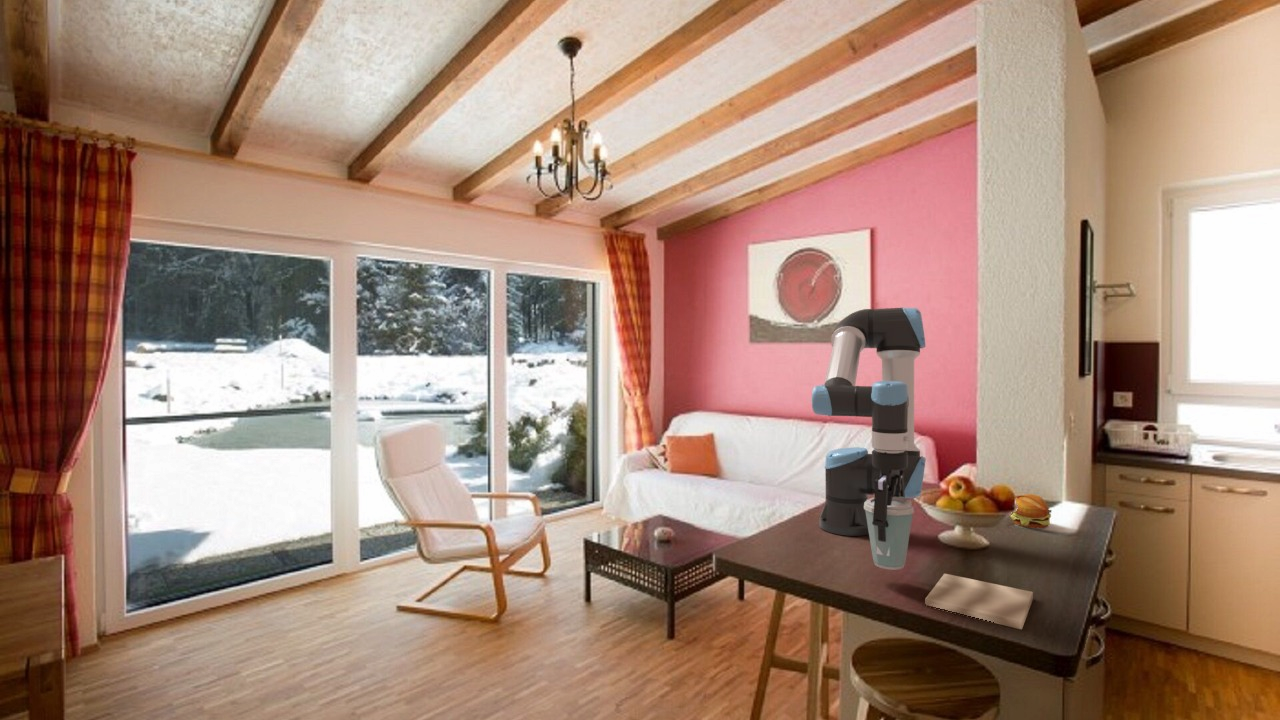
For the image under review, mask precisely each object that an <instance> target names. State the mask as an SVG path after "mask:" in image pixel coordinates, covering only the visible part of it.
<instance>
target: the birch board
mask: <svg viewBox="0 0 1280 720" xmlns="http://www.w3.org/2000/svg"><path fill="white" fill-rule="evenodd" d="M1033 599H1034V592H1033V591H1030V590H1026V589H1021V588H1015V587H1011V586H1007V585H1001V584H997V583H991V582H986V581H982V580H977V579H972V578H968V577H965V576H964V577H963V576H958V575H953V574H949V573H943V575H942V576H941V577H940V579H939V580H938V581H937V583H936V584H935V586H933V588H932V589H931V590H930V592H929V593H928V595H927V596H926V597H925V599H924V605H925V604H926V605H929V606H933V607H936V608H940V609H945V610H948V611H952V612H957V613H960V614H964V615H967V616H966V617H968V616H971V617H970V618H972V617H975V618H974V619H976V618H979V619H978V620H980V619H983V620H982V621H985V620H987V621H986V622H989V621H991V622H990V623H993V622H994V623H993V624H997V625H1001V626H1006V627H1010V628H1013V629H1018V630H1023V627H1024V624H1025V622H1026V619H1027V617H1028V614H1029V610H1030V608H1031V606H1032V603H1033ZM936 608H935V609H936ZM940 609H939V610H940ZM948 611H947V612H948ZM952 612H951V613H952ZM960 614H959V615H960ZM964 615H963V616H964Z"/></svg>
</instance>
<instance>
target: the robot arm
mask: <svg viewBox="0 0 1280 720" xmlns="http://www.w3.org/2000/svg"><path fill="white" fill-rule="evenodd" d="M830 343H831V347H832V350H831V354H830V358H829V361H828V366H827V371H826V376H825V378H824V379H825V380H824V383H823V384H820V385H815V386H813V388H812V391H811V407H812V412H813V413H814V414H815V415H818V416H828V417H856V418H857V417H860V418H861V417H862V418H871V422H872V424H871V426H872V427H871V447H872V449H873V450H872V451H871V453H869V451H868V449H867V448H866V447H859V446H854V447H852V446H851V447H843V448H837V449H833V450H830V451H829V452H827V453H826V456H825V466H824V469H825V472H824V473H825V502H824V504H823V507H822V511H821V514H820V516H819V527H820V529H821V530H823V531H825V532H827V533H831V534H836V535H839V536H847V537H849V536H853V537H855V536H868V535H869V531H868V524H867V518H866V511H865V509H864V502H866V500H868V499H869V498H868V496H869V495H870V496H874V497H875V500H874V516H873V522H872V524H873V525H877V526H878V541H883V542H885V541H886V537H885V536H886V532H885V527H888V526H889V524H888V520H887V521H886V519H887V506H891V503H892V497H905V498H908V499H917V498H918V496H919V497H920V496H921V494H922V489H923V483H924V482H923V481H924V475H925V468H926V461H927V460H926V457H924V456H921V450H920V448H918V447H917V445H916V444H915V360H916V359H917V358H918V356H920V355H921V349H924V348H926V338H925V329H924V323H923V318H922V313H921V311H920V309H918V308H916V307H903V306H902V307H894V308H893V307H891V308H890V307H889V308H888V307H887V308H864V309H860V310H857V311H853V312H852V313H849V314H848V315H846V316H845V317H844V318H843V319H841V320H840V321H839V322H838V324H837V325H836V326H835V328H834V329H833V331H832V334H831V337H830ZM864 349H876V355H877V356H878V357H879V358H880V359H881V381H880V380H878V381H876V382H873V383H872V385H868V386H867V385H865V386H864V385H861V386H860V385H856V381H857V377H858V369H859V363H860V356H861V353H862V352H863V350H864ZM916 497H917V498H916ZM878 519H879V520H878ZM877 554H880V555H883V554H882V552H881V551H880V549H879V548H878V547H877ZM886 556H890V549H888V552H887V555H886Z"/></svg>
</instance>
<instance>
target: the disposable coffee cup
mask: <svg viewBox="0 0 1280 720" xmlns="http://www.w3.org/2000/svg"><path fill="white" fill-rule="evenodd" d="M874 500H875V496H873V497H871V498H868V500H866V502H864V509H865V511H866V518H867V524H868V531H869V534H868V536H869V537H868V538H869V542H870V549H871V554H872V555H871V557H872V561H873V563H874V566H876V567H878V568H881V569H884V570H893V571H895V570H902V569H904V567H905V565H906V563H907V555H908V554H907V553H908V548H909V541H910V534H911V528H912V527H911V526H912V521H913V520H912V519H913V514H914V513H915V509H914V507H913V505H912V501H911V499H910V498H905V497H892V503H891V506H887V519H886V521H887V520H888V524H889V526H888V527H885V532H886V536H885V537H886V541H885V542H883V541H878V526H877V525H873V524H872V522H873V516H874ZM878 520H879V519H878ZM877 547H878V548H879V549H880V551H881V552H882V554H883V555H880V554H877ZM888 549H890V556H886V555H887V552H888Z"/></svg>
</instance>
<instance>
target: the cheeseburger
mask: <svg viewBox="0 0 1280 720" xmlns="http://www.w3.org/2000/svg"><path fill="white" fill-rule="evenodd" d="M1015 498H1016V502H1017V505H1018V509H1017V511H1016V512H1014V513H1013V514H1012V513H1011V514H1012V515H1010V519H1011V521H1012V523H1013V524H1015V525H1017V526H1020V527H1025V528H1030V529H1046V528H1048V527H1049V525H1051V524H1050V523H1051V522H1050V521H1051V520H1050V519H1051V517H1052V514H1051V513H1052V509H1049V506H1048V504H1047V502H1046V501H1045V500H1044V499H1043V497H1041V496H1040V495H1037V494H1034V493H1033V494H1032V493H1031V494H1029V493H1026V494H1021V495H1018V496H1016V497H1015Z"/></svg>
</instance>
